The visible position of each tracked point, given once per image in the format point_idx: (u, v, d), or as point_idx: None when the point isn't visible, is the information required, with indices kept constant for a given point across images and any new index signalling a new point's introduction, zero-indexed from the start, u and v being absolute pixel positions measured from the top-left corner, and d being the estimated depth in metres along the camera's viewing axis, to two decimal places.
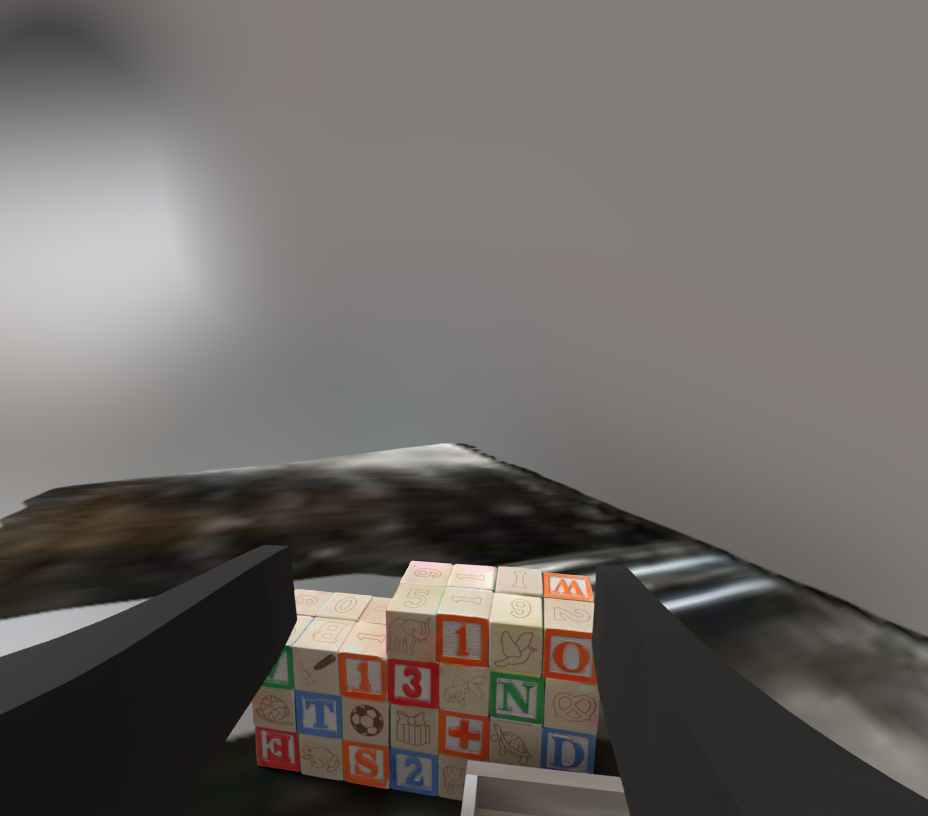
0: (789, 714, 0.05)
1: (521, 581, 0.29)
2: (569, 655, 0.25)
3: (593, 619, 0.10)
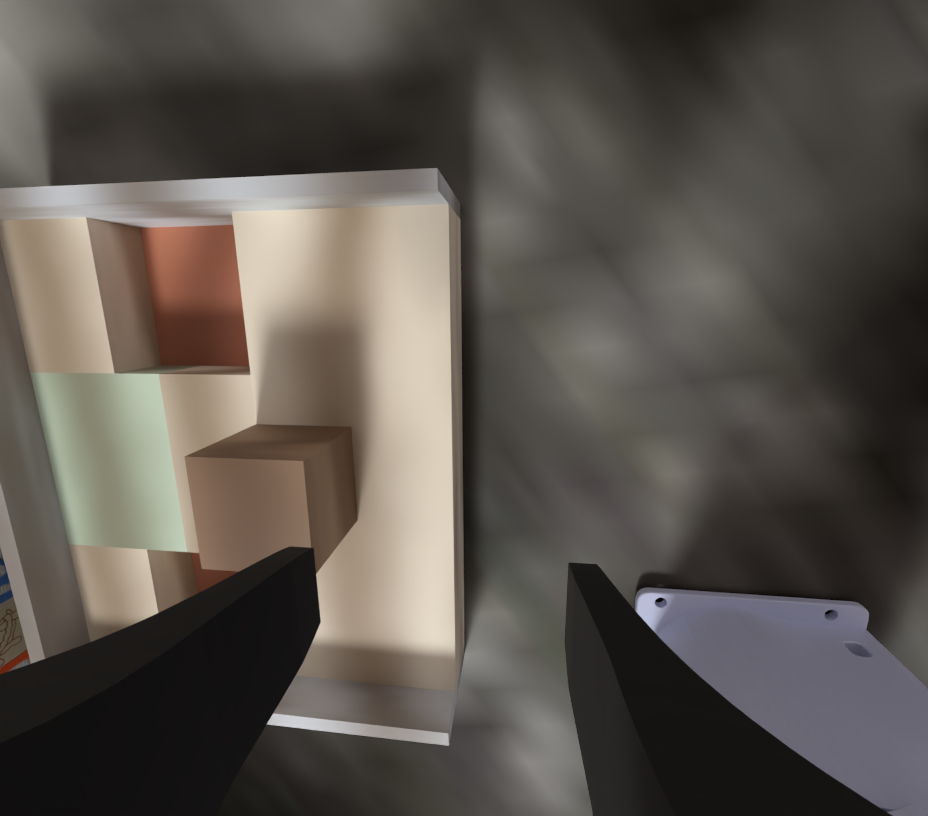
0: (736, 708, 0.06)
1: None
2: None
3: (566, 617, 0.10)
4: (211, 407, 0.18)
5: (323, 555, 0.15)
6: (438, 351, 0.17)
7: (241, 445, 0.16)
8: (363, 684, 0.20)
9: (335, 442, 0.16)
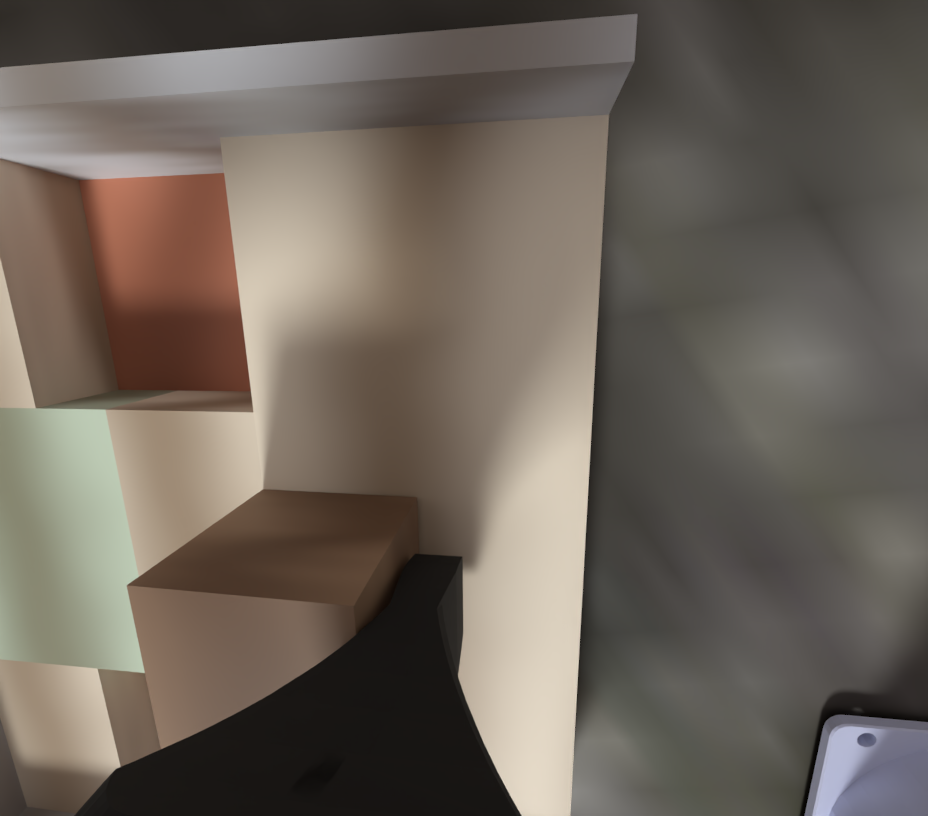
0: (458, 683, 0.06)
1: None
2: None
3: None
4: (191, 461, 0.12)
5: None
6: (572, 375, 0.10)
7: (236, 549, 0.09)
8: None
9: (398, 536, 0.09)
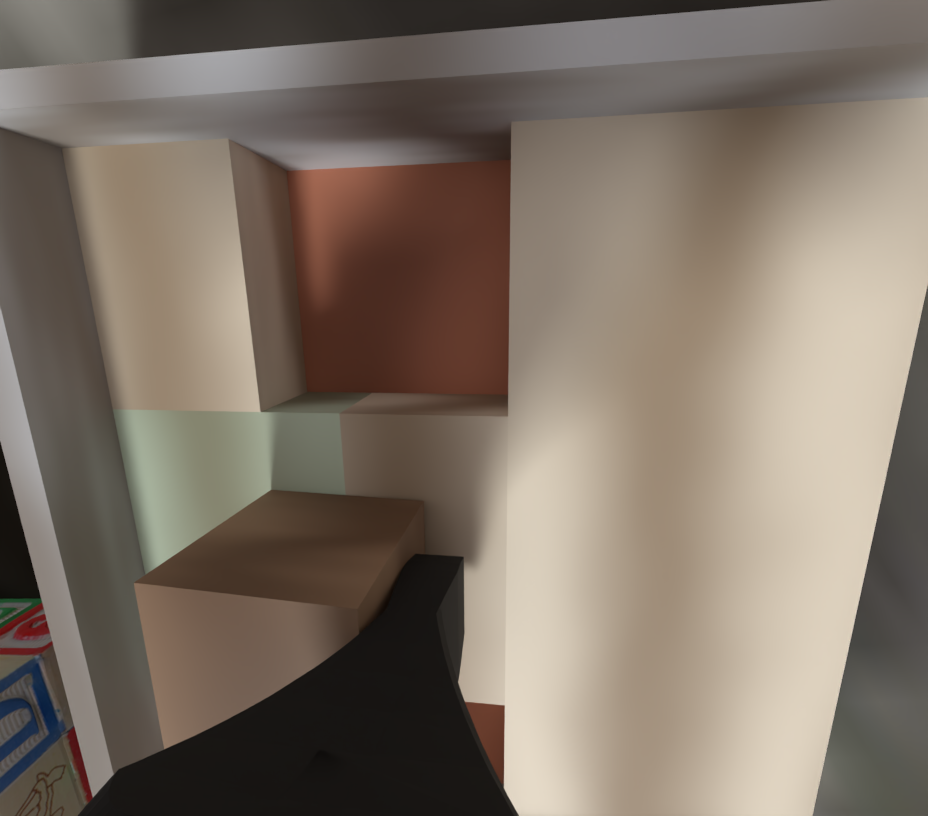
0: (457, 683, 0.06)
1: None
2: None
3: None
4: (430, 468, 0.11)
5: None
6: (882, 377, 0.09)
7: (242, 549, 0.09)
8: None
9: (404, 539, 0.09)
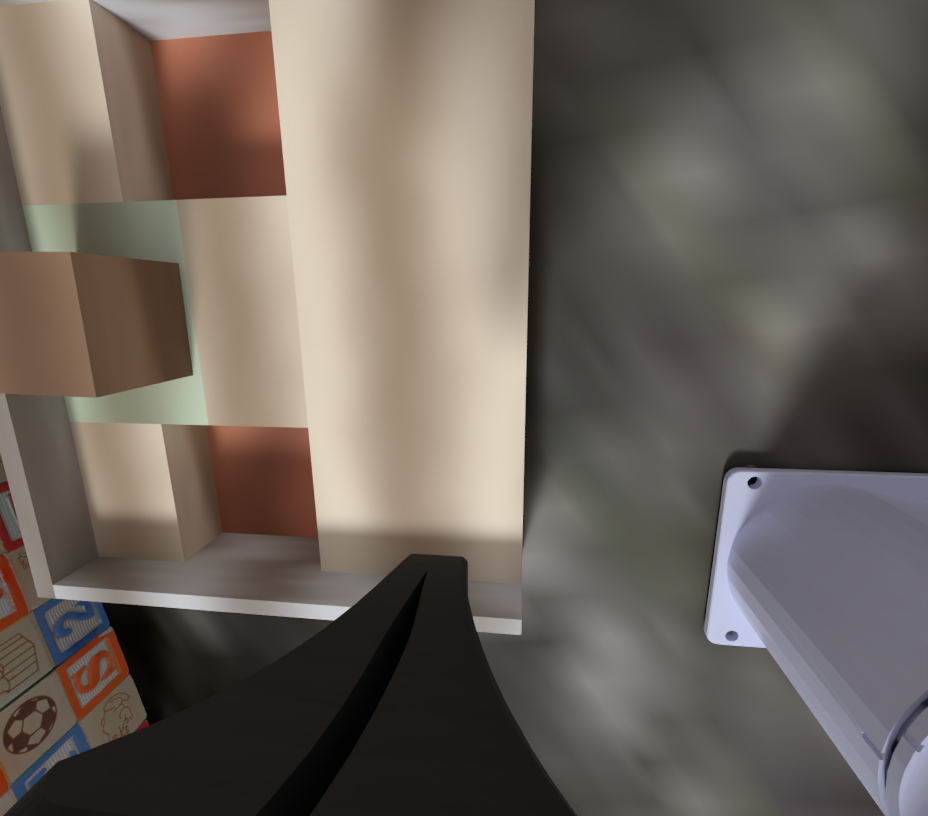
0: (497, 686, 0.06)
1: None
2: None
3: None
4: (239, 239, 0.16)
5: (117, 382, 0.14)
6: (516, 152, 0.14)
7: None
8: None
9: (143, 264, 0.15)
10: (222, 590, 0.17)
